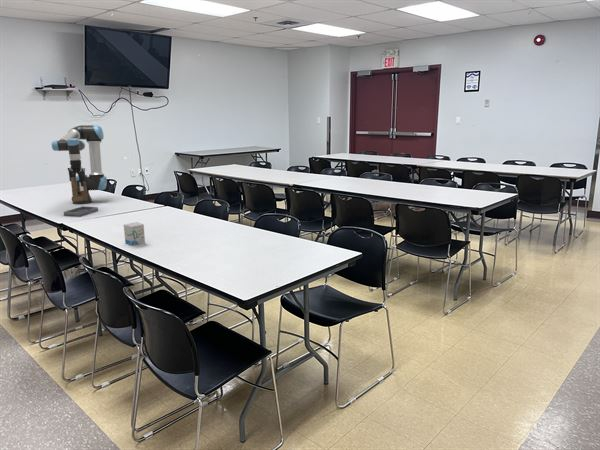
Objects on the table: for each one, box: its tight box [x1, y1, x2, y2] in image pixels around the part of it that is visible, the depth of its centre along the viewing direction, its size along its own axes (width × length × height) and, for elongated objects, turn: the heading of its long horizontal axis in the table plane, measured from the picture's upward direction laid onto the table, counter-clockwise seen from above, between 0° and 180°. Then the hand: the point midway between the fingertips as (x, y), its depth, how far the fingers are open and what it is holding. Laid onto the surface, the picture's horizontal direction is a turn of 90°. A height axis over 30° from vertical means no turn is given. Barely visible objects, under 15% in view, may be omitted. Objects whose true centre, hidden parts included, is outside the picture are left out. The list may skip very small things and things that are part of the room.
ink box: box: [123, 221, 146, 246], centre depth 272 cm, size 8×8×12 cm
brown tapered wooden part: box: [70, 177, 88, 203], centre depth 348 cm, size 4×11×18 cm, turn 144°
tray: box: [63, 206, 99, 218], centre depth 352 cm, size 21×14×3 cm, turn 167°
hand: (78, 190), depth 347 cm, fingers closed on brown tapered wooden part, 5 cm apart
